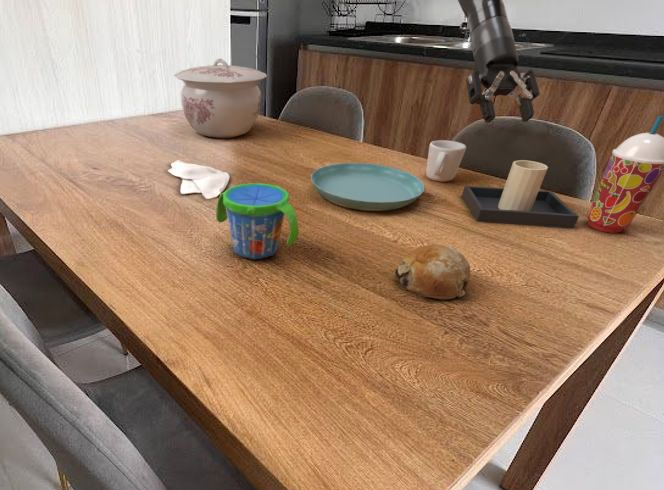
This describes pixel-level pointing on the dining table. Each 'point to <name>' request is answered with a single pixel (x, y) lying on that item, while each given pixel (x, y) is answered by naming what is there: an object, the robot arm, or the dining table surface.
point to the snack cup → (256, 218)
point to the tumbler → (522, 185)
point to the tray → (543, 211)
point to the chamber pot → (221, 98)
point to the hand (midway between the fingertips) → (509, 119)
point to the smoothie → (627, 181)
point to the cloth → (200, 179)
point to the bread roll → (434, 272)
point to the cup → (444, 160)
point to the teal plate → (366, 186)
